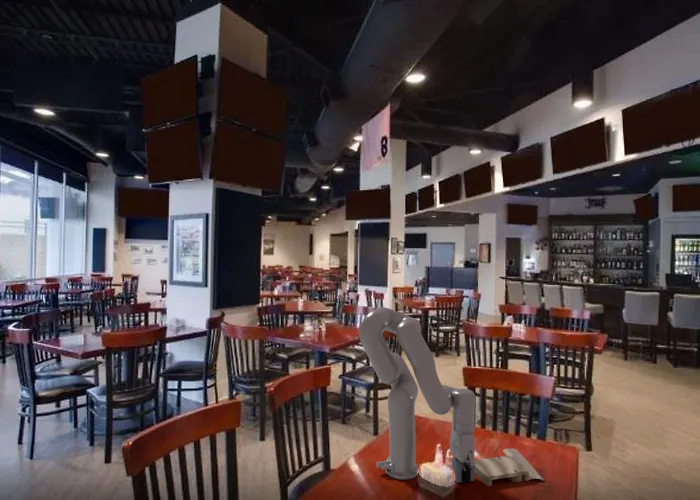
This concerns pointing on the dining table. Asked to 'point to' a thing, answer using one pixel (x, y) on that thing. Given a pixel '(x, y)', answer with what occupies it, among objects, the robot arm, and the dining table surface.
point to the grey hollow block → (458, 470)
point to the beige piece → (522, 463)
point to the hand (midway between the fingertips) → (462, 476)
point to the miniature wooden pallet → (500, 469)
